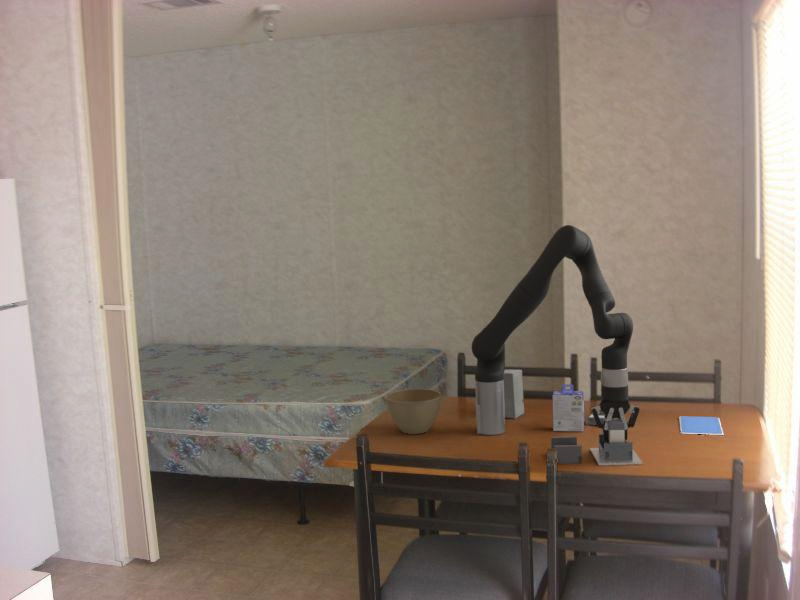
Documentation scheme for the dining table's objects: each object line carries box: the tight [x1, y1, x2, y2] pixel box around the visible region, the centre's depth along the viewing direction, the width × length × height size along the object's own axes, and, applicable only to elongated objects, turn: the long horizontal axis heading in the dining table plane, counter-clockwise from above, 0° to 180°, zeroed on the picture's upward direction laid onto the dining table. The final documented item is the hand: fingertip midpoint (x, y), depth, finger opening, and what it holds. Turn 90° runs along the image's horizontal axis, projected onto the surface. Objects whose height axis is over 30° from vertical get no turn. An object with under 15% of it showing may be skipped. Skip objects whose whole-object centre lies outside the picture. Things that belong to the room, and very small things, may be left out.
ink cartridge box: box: [551, 384, 585, 432], centre depth 261 cm, size 10×6×14 cm, turn 78°
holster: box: [550, 435, 583, 465], centre depth 233 cm, size 7×9×5 cm
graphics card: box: [585, 401, 605, 426], centre depth 274 cm, size 10×3×25 cm
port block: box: [589, 433, 643, 466], centre depth 232 cm, size 12×14×6 cm
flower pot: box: [385, 388, 442, 435], centre depth 267 cm, size 18×18×12 cm
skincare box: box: [504, 368, 525, 420], centre depth 281 cm, size 8×7×16 cm
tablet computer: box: [678, 415, 725, 435], centre depth 258 cm, size 19×13×1 cm, turn 163°
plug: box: [608, 418, 625, 442], centre depth 232 cm, size 4×6×9 cm, turn 177°
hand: (615, 441), depth 232 cm, fingers closed on plug, 4 cm apart
